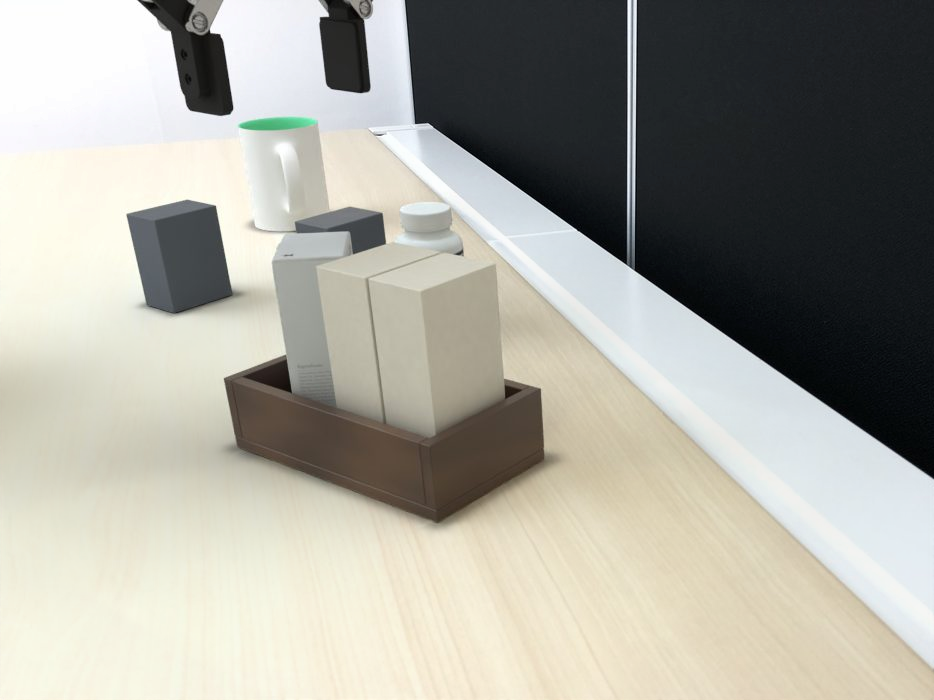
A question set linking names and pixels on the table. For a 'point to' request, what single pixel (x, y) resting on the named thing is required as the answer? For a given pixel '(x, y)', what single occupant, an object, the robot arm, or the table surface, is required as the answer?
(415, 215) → the pill bottle
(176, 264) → the grey block back
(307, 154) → the mug
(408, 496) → the brown wooden open box
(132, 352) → the table surface
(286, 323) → the cosmetic box
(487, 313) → the cream box
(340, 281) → the cream box
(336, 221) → the grey block front
